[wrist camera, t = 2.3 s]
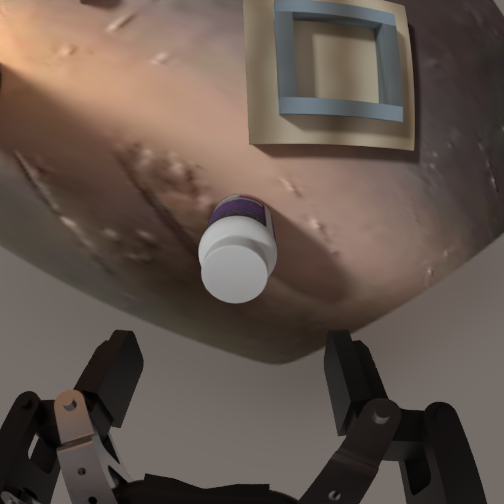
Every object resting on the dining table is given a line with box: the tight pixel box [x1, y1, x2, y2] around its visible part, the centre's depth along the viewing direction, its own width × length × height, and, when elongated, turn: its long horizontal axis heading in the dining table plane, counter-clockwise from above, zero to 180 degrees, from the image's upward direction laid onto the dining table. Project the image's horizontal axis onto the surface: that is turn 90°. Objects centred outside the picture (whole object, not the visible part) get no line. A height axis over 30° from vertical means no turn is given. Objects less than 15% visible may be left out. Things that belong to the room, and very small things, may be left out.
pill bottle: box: [199, 194, 277, 303], centre depth 21 cm, size 5×5×10 cm
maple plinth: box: [243, 0, 415, 151], centre depth 18 cm, size 14×14×4 cm
